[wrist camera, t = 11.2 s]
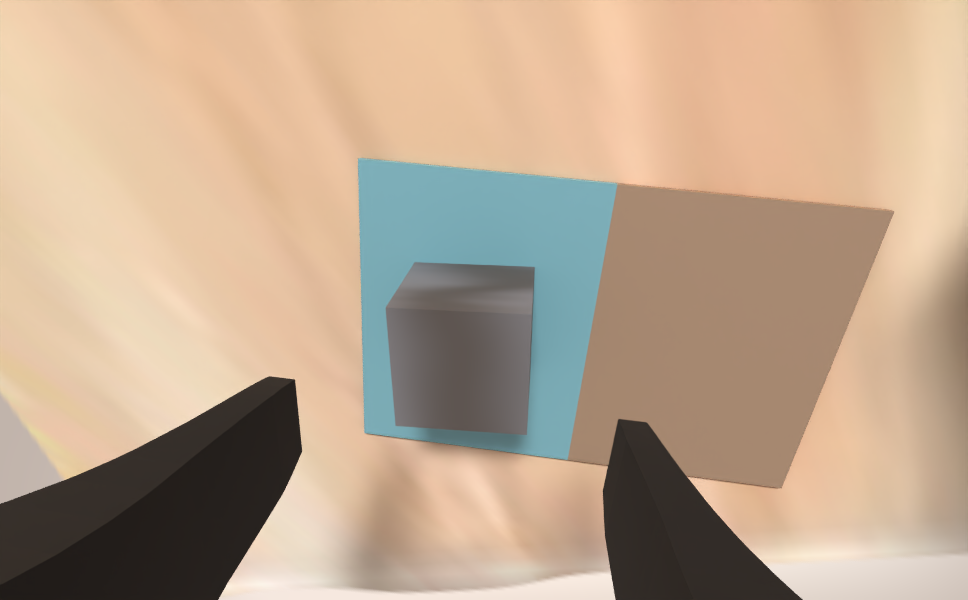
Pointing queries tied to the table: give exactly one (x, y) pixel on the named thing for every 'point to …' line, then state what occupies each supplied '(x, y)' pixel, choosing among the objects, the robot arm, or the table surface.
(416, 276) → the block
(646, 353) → the board
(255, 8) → the table surface
